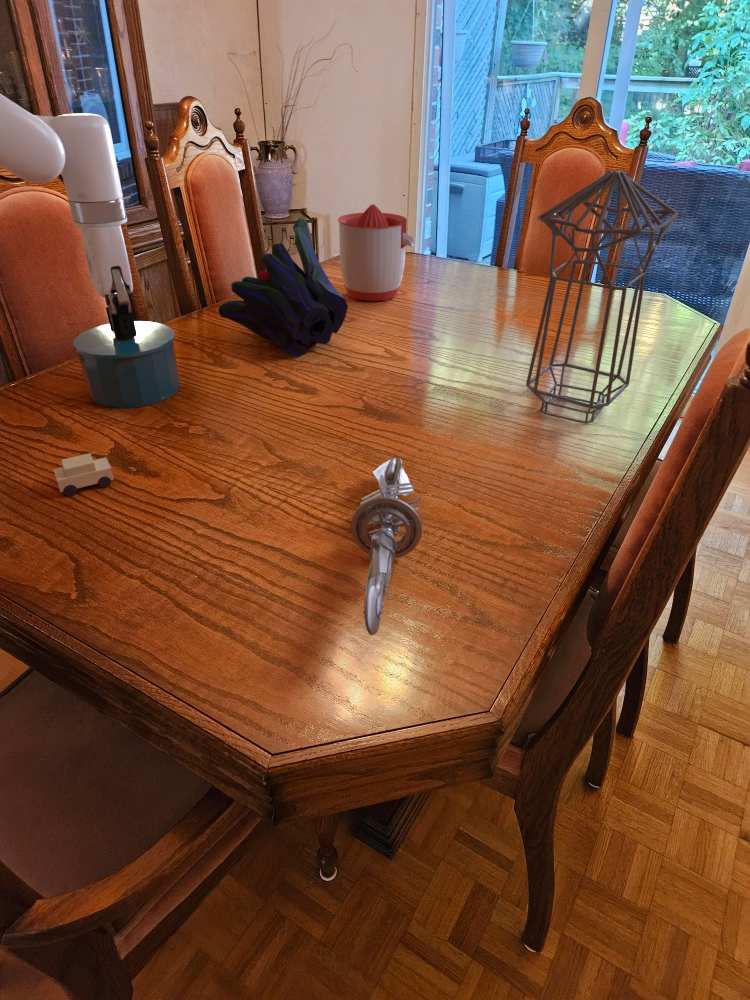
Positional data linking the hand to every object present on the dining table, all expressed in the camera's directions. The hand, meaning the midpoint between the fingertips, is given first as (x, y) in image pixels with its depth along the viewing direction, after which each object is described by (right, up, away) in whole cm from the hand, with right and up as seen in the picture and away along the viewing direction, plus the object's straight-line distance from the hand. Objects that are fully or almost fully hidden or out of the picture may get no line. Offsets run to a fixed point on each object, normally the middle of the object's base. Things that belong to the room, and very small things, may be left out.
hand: (123, 332), depth 107 cm
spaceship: (+42, -34, -32) cm, 62 cm away
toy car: (+3, -25, -20) cm, 32 cm away
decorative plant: (+22, +6, +27) cm, 35 cm away
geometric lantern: (+72, -13, 0) cm, 73 cm away
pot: (0, -8, +5) cm, 10 cm away
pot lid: (0, -1, +1) cm, 1 cm away
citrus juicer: (+41, +21, +51) cm, 68 cm away
